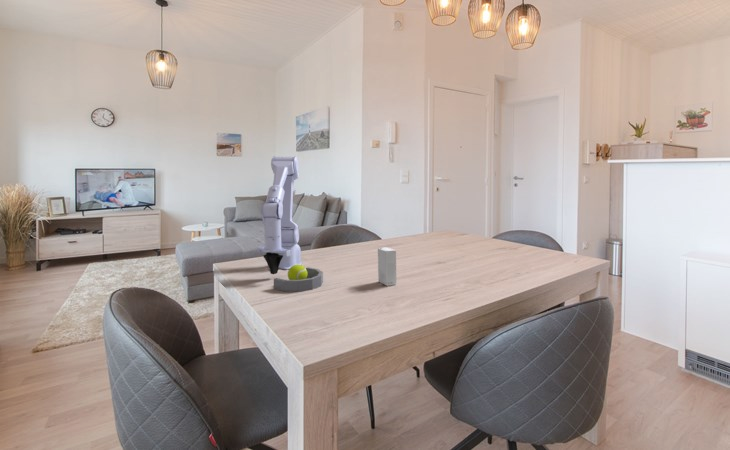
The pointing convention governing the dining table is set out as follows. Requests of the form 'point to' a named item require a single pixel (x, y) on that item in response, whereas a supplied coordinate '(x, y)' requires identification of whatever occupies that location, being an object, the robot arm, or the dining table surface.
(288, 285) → the catch ring
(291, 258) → the robot arm
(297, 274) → the tennis ball
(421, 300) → the dining table surface
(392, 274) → the skincare box
